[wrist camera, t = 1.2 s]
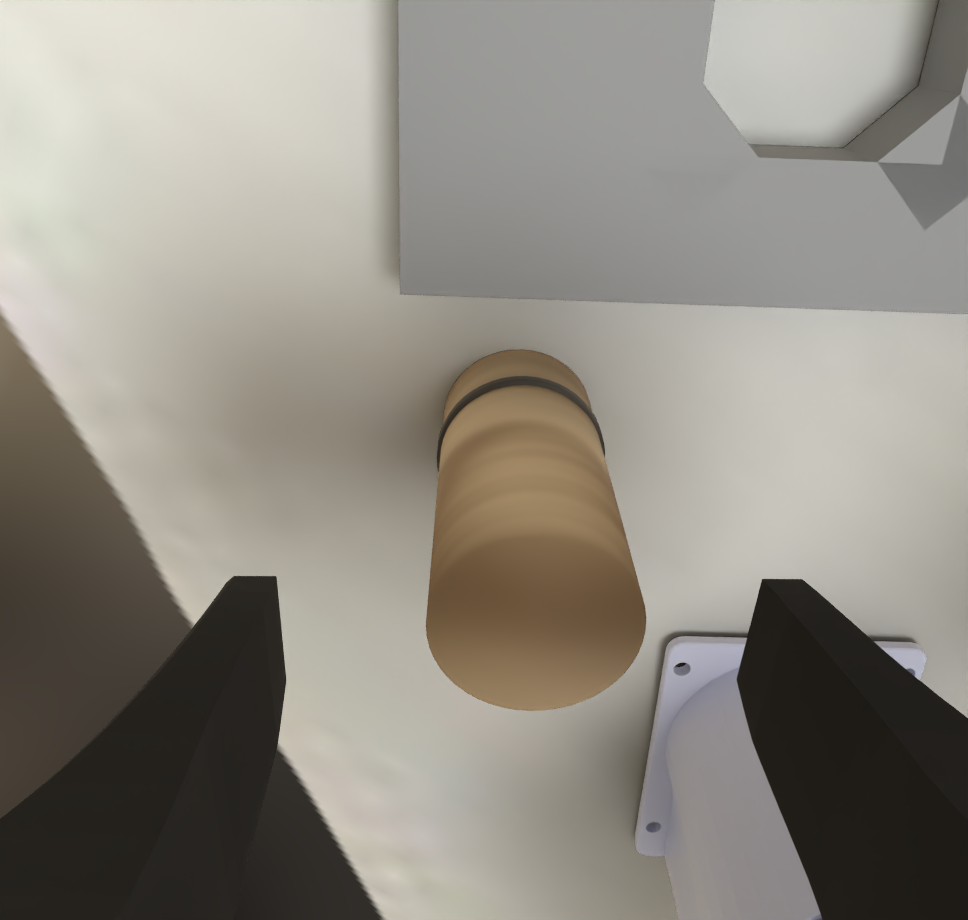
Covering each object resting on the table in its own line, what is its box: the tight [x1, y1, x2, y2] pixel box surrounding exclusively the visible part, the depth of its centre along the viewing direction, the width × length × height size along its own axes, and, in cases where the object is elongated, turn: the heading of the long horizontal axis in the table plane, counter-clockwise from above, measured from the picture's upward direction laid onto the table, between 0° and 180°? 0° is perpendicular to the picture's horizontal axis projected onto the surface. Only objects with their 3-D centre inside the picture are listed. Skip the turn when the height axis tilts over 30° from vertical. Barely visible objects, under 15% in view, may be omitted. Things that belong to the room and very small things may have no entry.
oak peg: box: [426, 350, 646, 711], centre depth 20 cm, size 4×4×9 cm
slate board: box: [398, 0, 968, 314], centre depth 19 cm, size 12×18×2 cm, turn 88°
